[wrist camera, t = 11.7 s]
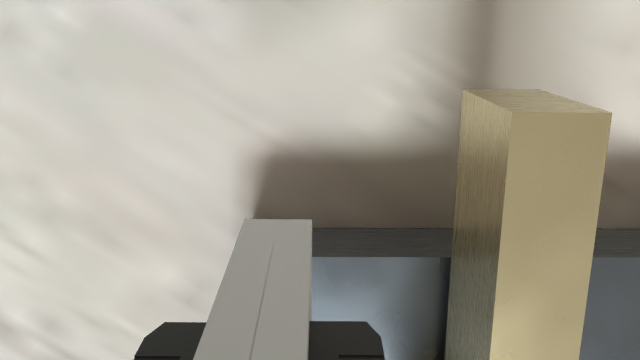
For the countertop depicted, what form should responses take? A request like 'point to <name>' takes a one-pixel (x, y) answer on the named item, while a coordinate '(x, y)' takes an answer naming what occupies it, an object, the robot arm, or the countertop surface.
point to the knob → (524, 224)
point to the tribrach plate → (434, 280)
